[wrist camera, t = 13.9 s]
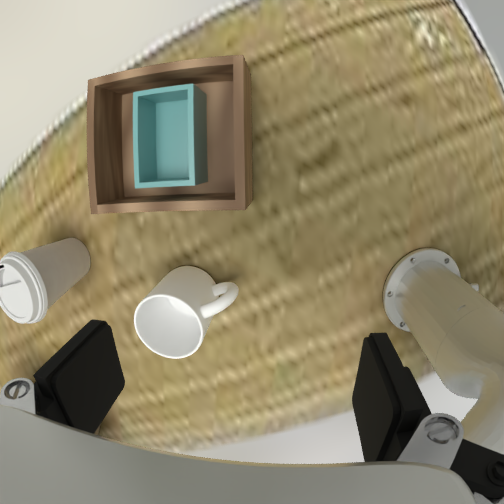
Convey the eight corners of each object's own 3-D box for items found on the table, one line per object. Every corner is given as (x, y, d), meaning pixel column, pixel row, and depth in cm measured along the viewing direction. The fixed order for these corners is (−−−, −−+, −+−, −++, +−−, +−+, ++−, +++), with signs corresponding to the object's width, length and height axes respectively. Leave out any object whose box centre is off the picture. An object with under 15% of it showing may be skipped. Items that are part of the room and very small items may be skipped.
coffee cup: (98, 232, 42) (32, 265, 28) (99, 292, 45) (43, 339, 31) (52, 224, 43) (-15, 250, 29) (54, 279, 46) (-4, 317, 31)
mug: (232, 247, 41) (216, 275, 31) (254, 302, 43) (246, 343, 33) (154, 274, 43) (121, 305, 34) (178, 324, 45) (154, 364, 35)
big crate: (250, 74, 35) (243, 54, 27) (252, 200, 39) (245, 209, 32) (119, 90, 36) (88, 79, 29) (122, 203, 41) (91, 213, 33)
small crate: (206, 94, 35) (193, 83, 29) (207, 181, 38) (194, 185, 32) (153, 100, 36) (133, 92, 30) (155, 183, 39) (134, 188, 33)
